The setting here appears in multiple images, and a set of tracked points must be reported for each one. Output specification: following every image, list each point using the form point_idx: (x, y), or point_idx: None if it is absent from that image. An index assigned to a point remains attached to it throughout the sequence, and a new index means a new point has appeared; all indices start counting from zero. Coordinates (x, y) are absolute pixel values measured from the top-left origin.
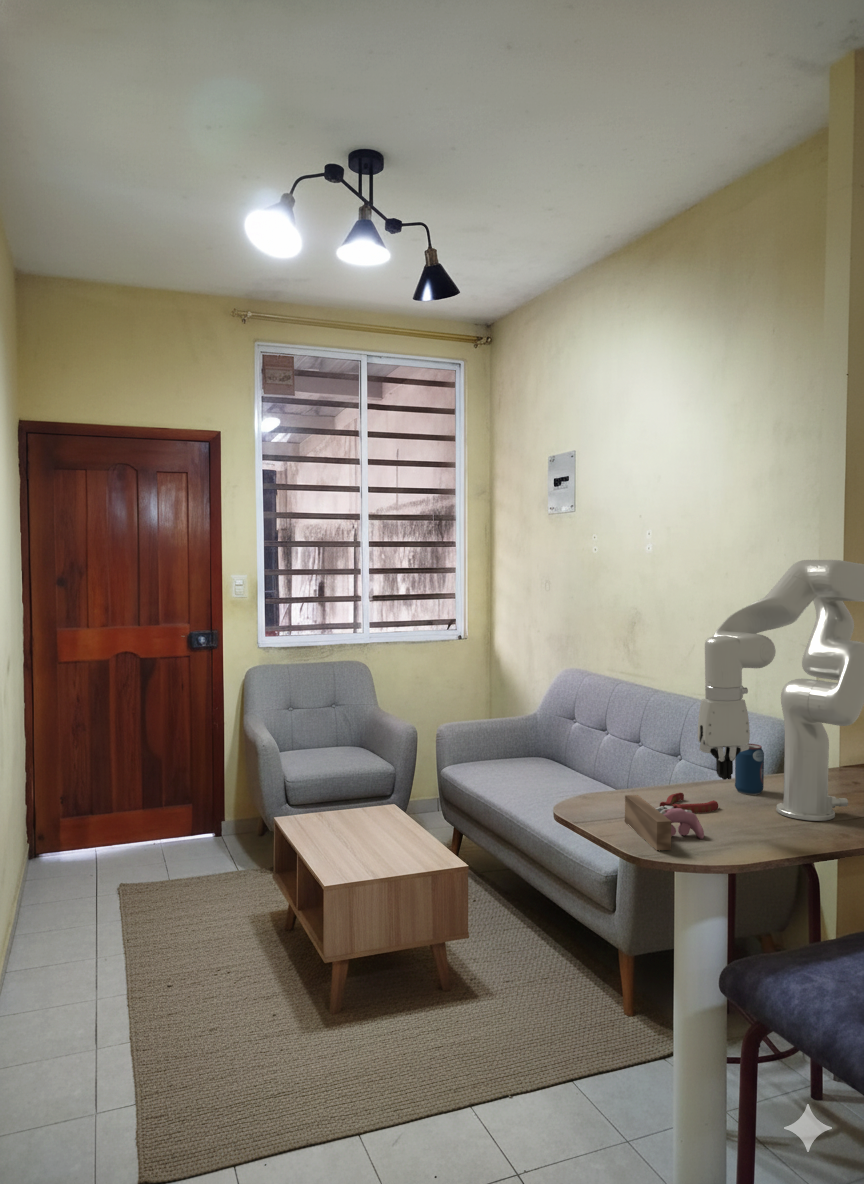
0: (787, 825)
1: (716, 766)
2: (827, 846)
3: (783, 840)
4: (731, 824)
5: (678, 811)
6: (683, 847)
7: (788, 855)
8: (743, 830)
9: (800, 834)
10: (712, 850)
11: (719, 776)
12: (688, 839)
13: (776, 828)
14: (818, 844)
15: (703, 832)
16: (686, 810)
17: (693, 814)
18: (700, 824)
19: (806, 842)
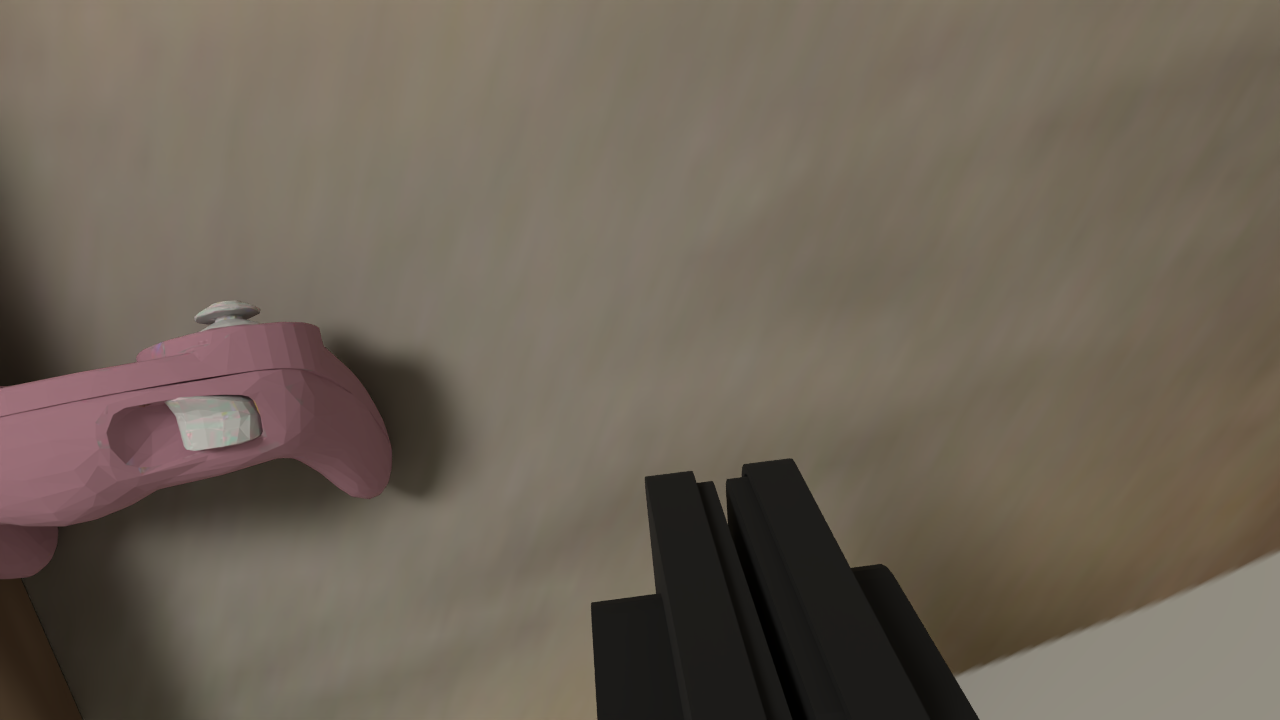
0: (1273, 32)
1: (597, 694)
2: (1214, 528)
3: (1003, 433)
4: (785, 9)
5: (68, 520)
6: (191, 645)
7: None
8: (817, 200)
9: (1213, 285)
10: (401, 678)
11: (650, 523)
12: (261, 469)
13: (1127, 129)
14: (1185, 496)
15: (379, 494)
16: (187, 408)
17: (270, 456)
18: (354, 467)
19: (1134, 463)
